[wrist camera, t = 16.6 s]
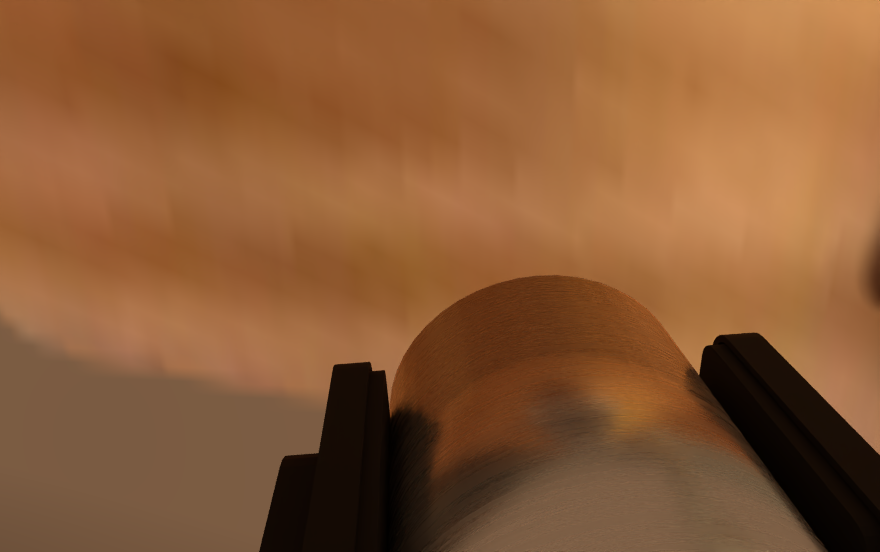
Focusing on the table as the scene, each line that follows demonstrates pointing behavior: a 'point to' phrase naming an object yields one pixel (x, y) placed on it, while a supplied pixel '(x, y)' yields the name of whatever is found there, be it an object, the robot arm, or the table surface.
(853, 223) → the table surface
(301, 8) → the table surface
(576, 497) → the cylinder
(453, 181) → the table surface
